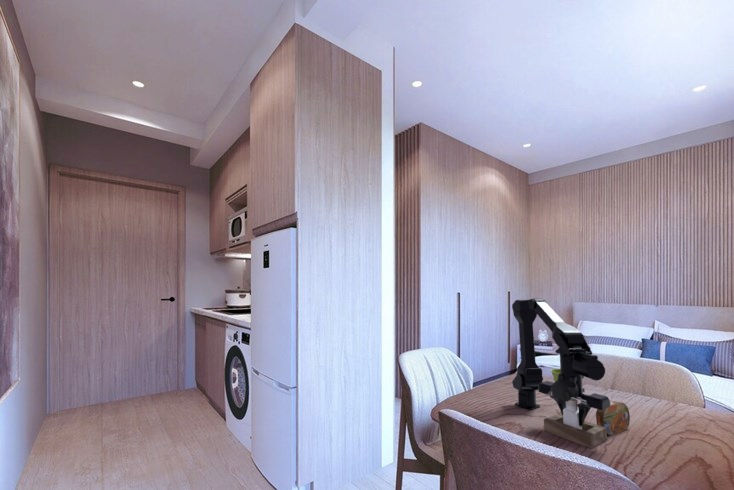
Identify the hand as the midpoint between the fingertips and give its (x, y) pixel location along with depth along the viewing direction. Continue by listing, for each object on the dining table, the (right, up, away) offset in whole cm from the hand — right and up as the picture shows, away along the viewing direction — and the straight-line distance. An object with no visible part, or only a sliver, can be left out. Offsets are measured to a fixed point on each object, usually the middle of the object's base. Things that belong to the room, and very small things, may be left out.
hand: (573, 423), depth 103 cm
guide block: (0, -3, -1) cm, 3 cm away
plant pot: (+21, -8, +40) cm, 46 cm away
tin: (+15, -4, +3) cm, 15 cm away
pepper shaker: (0, -3, 0) cm, 3 cm away
